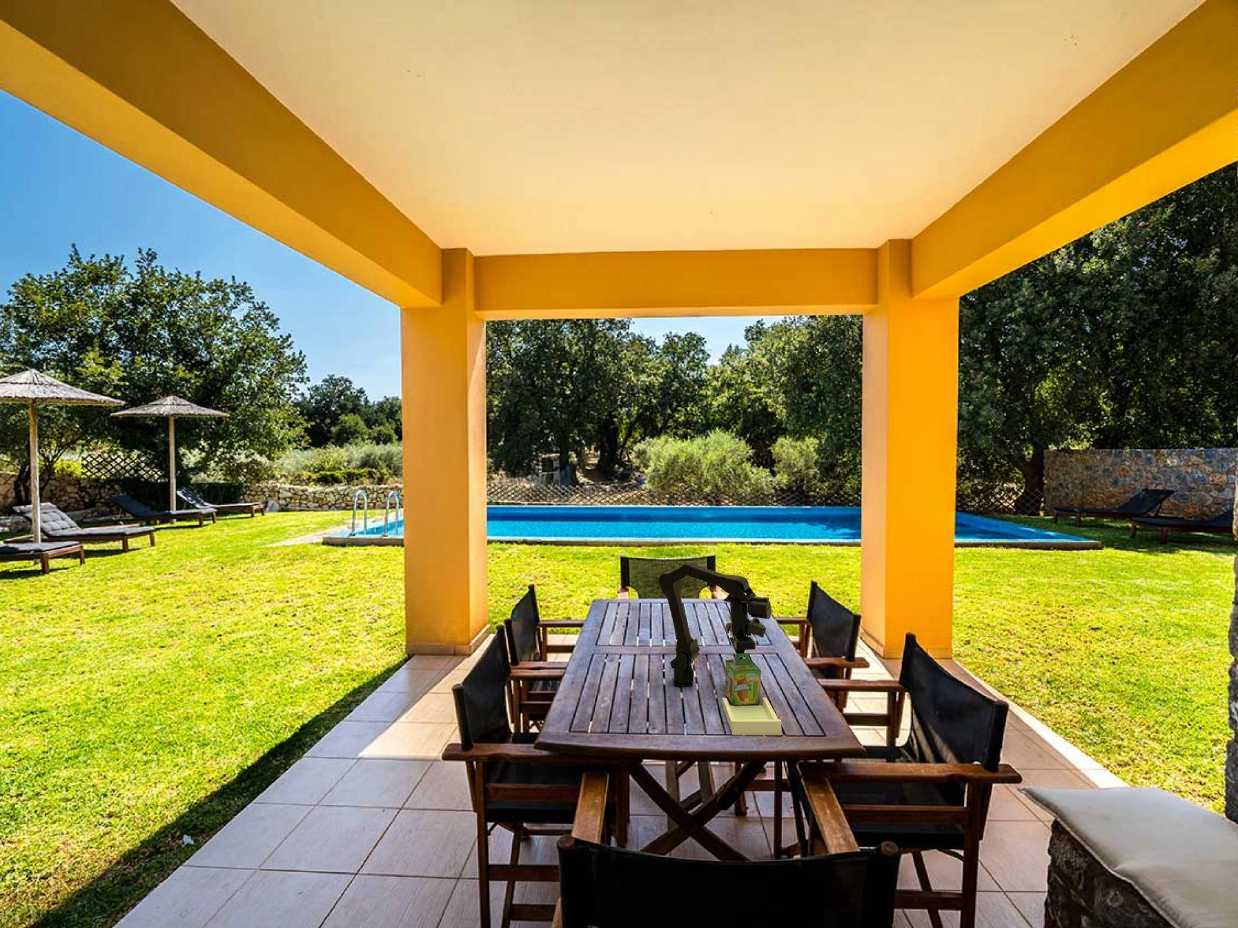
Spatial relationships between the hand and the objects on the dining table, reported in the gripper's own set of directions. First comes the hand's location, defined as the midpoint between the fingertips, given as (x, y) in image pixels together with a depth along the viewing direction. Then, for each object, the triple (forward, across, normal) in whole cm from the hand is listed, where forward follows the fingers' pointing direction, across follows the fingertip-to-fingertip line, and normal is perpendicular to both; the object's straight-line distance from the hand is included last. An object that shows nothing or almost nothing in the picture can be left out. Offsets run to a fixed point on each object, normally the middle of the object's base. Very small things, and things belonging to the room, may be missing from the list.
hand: (740, 660), depth 197 cm
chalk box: (+11, -5, +1) cm, 12 cm away
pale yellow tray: (+11, -18, +2) cm, 21 cm away
